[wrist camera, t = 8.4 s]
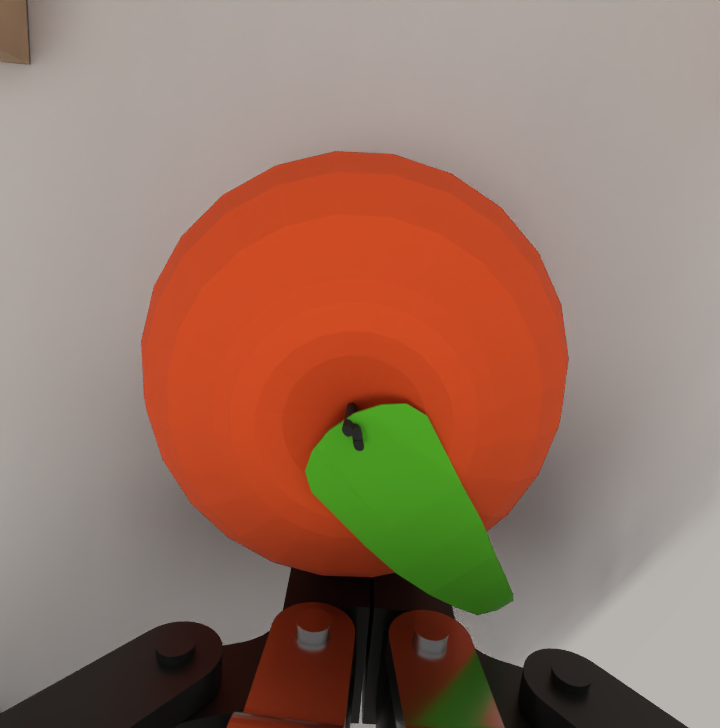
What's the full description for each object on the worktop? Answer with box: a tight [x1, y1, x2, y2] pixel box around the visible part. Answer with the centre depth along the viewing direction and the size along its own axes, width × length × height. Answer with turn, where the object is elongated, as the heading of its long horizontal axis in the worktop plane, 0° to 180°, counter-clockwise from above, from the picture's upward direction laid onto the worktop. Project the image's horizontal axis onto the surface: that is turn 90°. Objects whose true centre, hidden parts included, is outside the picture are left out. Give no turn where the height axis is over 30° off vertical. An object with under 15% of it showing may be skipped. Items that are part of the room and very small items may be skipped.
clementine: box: [141, 151, 569, 615], centre depth 10 cm, size 8×7×7 cm
